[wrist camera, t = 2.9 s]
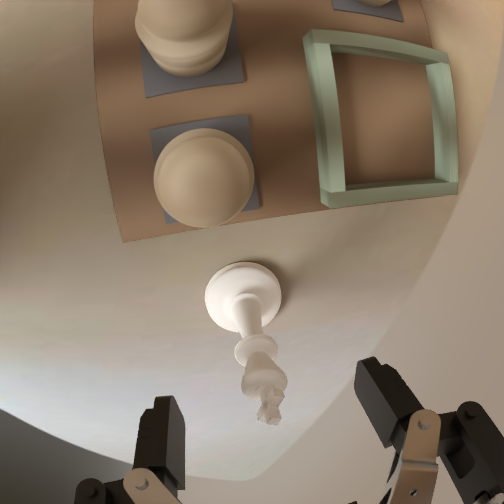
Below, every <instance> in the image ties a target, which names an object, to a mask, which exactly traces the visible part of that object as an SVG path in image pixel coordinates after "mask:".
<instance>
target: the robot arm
mask: <svg viewBox="0 0 504 504" xmlns="http://www.w3.org/2000/svg"><path fill="white" fill-rule="evenodd" d="M354 389H355V393H356V395H357V397H358V399H359V401H360V403H361V405H362V406H363V408H364V410H365V412H366V414H367V416H368V417H369V419H370V421H371V423H372V425H373V427H374V429H375V431H376V432H377V434H378V436H379V438H380V440H381V442H382V443H383V446H384V447H385V448H387V447H390V446H392V445H393V446H394V448H395V452H394V456H393V459H392V463H391V466H390V469H389V472H388V476H387V479H386V482H385V485H384V487H383V490H382V492H381V494H380V496H379V498H378V501H377V503H376V504H431V501H432V497H433V493H434V489H435V484H436V479H437V474H438V464H436V457H438V456H440V458H441V460H442V462H443V463H444V465H445V467H446V469H447V471H448V473H449V475H450V476H451V479H452V481H453V483H454V484H455V486H456V488H457V490H458V492H459V494H460V496H461V498H462V500H463V503H464V504H504V437H503V436H502V434H501V433H500V431H499V430H498V428H497V427H496V425H495V424H494V423H493V421H492V420H491V418H490V417H489V416H488V414H487V413H486V412H485V410H484V409H483V407H482V406H481V405H480V404H478V403H476V402H473V401H468V402H464V403H463V404H461V405H460V406H459V408H458V410H457V411H454V412H449V413H444V414H437V413H436V412H434V411H432V410H428V409H424V408H423V407H422V405H421V404H420V403H419V401H418V399H417V398H416V397H415V395H414V394H413V393H412V391H411V390H410V389H409V387H408V386H407V385H406V383H405V381H404V380H403V379H402V378H401V376H400V375H399V373H398V372H397V371H396V369H394V368H392V367H391V366H389V365H388V364H384V365H381V364H380V363H379V361H378V360H377V359H376V357H370V358H366V359H363V360H360V361H358V362H357V367H356V374H355V382H354ZM177 490H185V422H184V418H183V415H182V413H181V411H180V409H179V407H178V404H177V402H176V400H175V398H174V396H159V397H156V398H155V401H154V408H153V409H146V410H145V412H144V413H143V415H142V416H141V418H140V423H139V430H138V438H137V443H136V450H135V457H134V465H133V468H132V470H131V471H130V472H128V473H127V475H126V476H125V478H123V479H121V480H117V481H113V482H108V483H101V482H100V481H99V480H97V479H93V478H89V479H85V480H83V481H81V482H80V483H79V484H78V486H77V488H76V495H75V501H74V504H182V503H181V502H180V501H179V500H178V499H177ZM349 504H357V501H355V502H352V503H349Z"/></svg>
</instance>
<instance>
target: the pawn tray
mask: <svg viewBox="0 0 504 504" xmlns="http://www.w3.org/2000/svg"><path fill="white" fill-rule="evenodd" d="M93 41H94V68H95V83H96V95H97V105H98V114H99V122H100V130H101V137H102V144H103V151H104V157H105V163H106V168H107V174H108V179H109V184H110V189H111V194H112V199H113V204H114V208H115V213H116V217H117V221H118V225H119V229H120V233H121V237H122V241H123V243H125V242H130V241H135V240H140V239H146V238H151V237H157V236H162V235H168V234H174V233H179V232H185V231H191V230H197V229H203V228H209V227H215V226H221V225H227V224H233V223H239V222H246V221H252V220H259V219H265V218H272V217H279V216H286V215H292V214H299V213H307V212H314V211H321V210H329V209H336V208H344V207H352V206H359V205H368V204H376V203H384V202H393V201H402V200H411V199H420V198H429V197H439V196H446V195H456V194H458V137H457V121H456V110H455V100H454V92H453V84H452V78H451V71H450V66H449V60H448V55H447V53H445V52H442V51H439V50H435V49H432V45H431V40H430V36H429V32H428V28H427V24H426V20H425V16H424V13H423V9H422V6H421V2H420V0H94V16H93Z"/></svg>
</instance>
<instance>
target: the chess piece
mask: <svg viewBox="0 0 504 504" xmlns="http://www.w3.org/2000/svg"><path fill="white" fill-rule="evenodd" d="M205 303H206V306H207V310H208V312H209V315H210V316H211V318H212V319H213V320H214V321H215V322H216V323H217V324H218V325H219V326H221V327H222V328H224V329H227V330H229V331H233V332H240V333H241V336H242V338H243V339H241V340H240V341H239V342H238V344H237V345H236V347H235V351H234V354H235V357H236V359H237V361H238V362H239V363H240V364H241V365H242V366H244V367H246V368H245V373H244V375H243V378H242V383H241V389H242V392H243V393H244V395H245V396H247V397H248V398H250V399H252V400H257V401H261V402H262V406H261V407H260V409H259V411H258V412H257V417H258V421H262V422H266V423H267V424H270V425H277V424H278V423H279V421H280V420H281V415H280V412H279V408H278V406H279V405H280V403H281V402H282V400H283V399H284V393H283V391H284V390H285V388H286V386H287V382H288V381H287V377H286V375H285V373H284V372H283V371H282V370H281V369H280V368H279V367H278V366H277V365H276V364H275V363H274V361H273V360H274V359H275V358H276V355H277V350H278V347H277V343H276V341H275V340H274V339H273V338H272V337H270V336H268V335H265V334H263V332H262V327H263V326H265V325H266V324H268V323H269V322H270V321H271V320H272V319H273V318H274V317H275V315H276V314H277V312H278V310H279V308H280V305H281V290H280V285H279V282H278V280H277V278H276V277H275V275H274V274H273V273H272V272H271V271H270V270H269V269H267V268H266V267H264V266H262V265H260V264H257V263H252V262H238V263H233V264H230V265H228V266H226V267H224V268H222V269H220V270H219V271H218V272H217V273H216V274H215V275H214V276H213V277H212V278H211V280H210V281H209V283H208V285H207V288H206V291H205Z"/></svg>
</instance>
